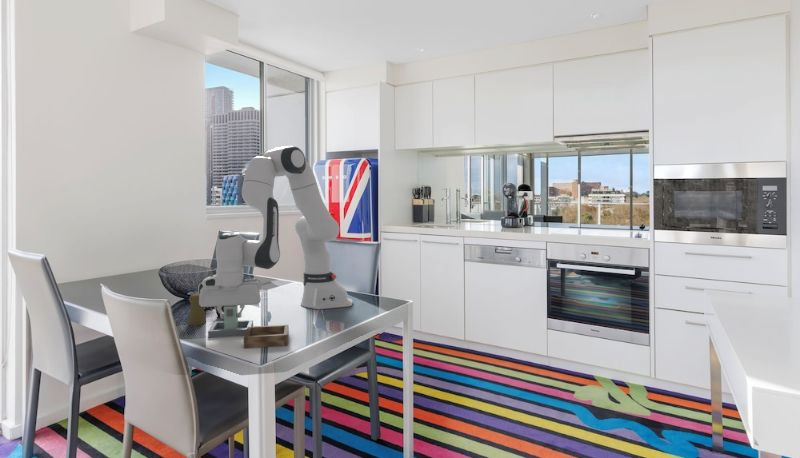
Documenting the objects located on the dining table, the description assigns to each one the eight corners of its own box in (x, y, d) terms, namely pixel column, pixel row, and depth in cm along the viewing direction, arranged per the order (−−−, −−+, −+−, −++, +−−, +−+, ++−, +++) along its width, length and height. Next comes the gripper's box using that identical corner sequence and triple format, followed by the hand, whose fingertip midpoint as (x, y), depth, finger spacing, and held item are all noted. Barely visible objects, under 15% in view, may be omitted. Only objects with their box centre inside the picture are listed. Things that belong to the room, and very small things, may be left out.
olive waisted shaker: (200, 319, 173) (199, 291, 172) (209, 322, 169) (208, 293, 168) (185, 323, 168) (184, 294, 167) (194, 326, 164) (193, 296, 163)
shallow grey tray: (253, 325, 166) (253, 319, 165) (249, 335, 155) (249, 329, 154) (214, 327, 163) (214, 321, 163) (208, 337, 152) (208, 331, 152)
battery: (203, 311, 184) (202, 284, 183) (197, 310, 186) (196, 283, 185) (218, 308, 190) (217, 281, 189) (212, 306, 192) (212, 280, 191)
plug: (237, 325, 161) (237, 303, 160) (236, 329, 156) (235, 307, 156) (226, 326, 160) (225, 304, 159) (223, 330, 156) (223, 307, 155)
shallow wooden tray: (288, 334, 156) (288, 324, 156) (287, 345, 145) (287, 334, 144) (248, 336, 153) (247, 326, 153) (243, 348, 142) (243, 337, 142)
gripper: (261, 276, 162) (262, 313, 164) (201, 278, 158) (202, 316, 159) (260, 279, 156) (260, 318, 157) (197, 281, 152) (198, 321, 153)
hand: (231, 317), depth 158 cm, fingers closed on plug, 4 cm apart
